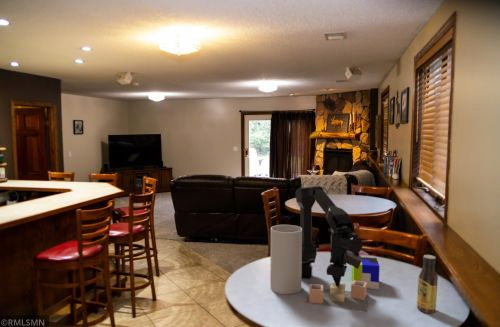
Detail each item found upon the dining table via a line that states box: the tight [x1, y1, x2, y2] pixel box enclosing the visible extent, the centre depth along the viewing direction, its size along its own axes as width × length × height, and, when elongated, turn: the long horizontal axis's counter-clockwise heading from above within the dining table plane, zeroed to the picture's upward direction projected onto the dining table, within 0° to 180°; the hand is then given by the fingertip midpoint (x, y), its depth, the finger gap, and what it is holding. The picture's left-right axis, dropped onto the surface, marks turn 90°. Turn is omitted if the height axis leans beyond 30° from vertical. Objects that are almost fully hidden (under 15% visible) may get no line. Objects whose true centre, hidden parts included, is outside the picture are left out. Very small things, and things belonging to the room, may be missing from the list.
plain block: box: [329, 282, 346, 302], centre depth 144 cm, size 5×5×5 cm
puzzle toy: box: [351, 256, 381, 290], centre depth 159 cm, size 10×10×10 cm
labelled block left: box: [308, 283, 324, 304], centre depth 143 cm, size 5×5×5 cm
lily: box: [348, 250, 369, 257], centre depth 186 cm, size 12×12×10 cm
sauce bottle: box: [416, 254, 439, 314], centre depth 135 cm, size 6×6×20 cm
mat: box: [304, 287, 370, 313], centre depth 145 cm, size 22×16×1 cm
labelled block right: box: [350, 280, 368, 300], centre depth 146 cm, size 5×5×5 cm
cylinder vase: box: [269, 224, 302, 295], centre depth 153 cm, size 12×12×25 cm
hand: (337, 285), depth 144 cm, fingers closed, pressing on plain block
